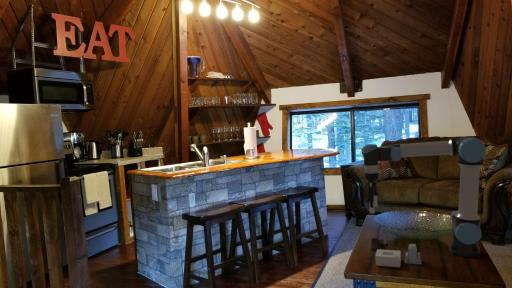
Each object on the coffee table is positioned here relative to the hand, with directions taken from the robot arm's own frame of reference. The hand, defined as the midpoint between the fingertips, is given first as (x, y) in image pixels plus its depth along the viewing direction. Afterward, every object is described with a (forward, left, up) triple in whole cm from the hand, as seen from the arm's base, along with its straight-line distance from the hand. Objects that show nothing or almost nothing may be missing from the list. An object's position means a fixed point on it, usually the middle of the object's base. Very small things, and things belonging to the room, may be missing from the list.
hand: (373, 209), depth 222 cm
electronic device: (-2, -7, -27) cm, 28 cm away
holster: (-20, +7, -26) cm, 34 cm away
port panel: (-8, +11, -26) cm, 30 cm away
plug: (-20, +7, -25) cm, 33 cm away
